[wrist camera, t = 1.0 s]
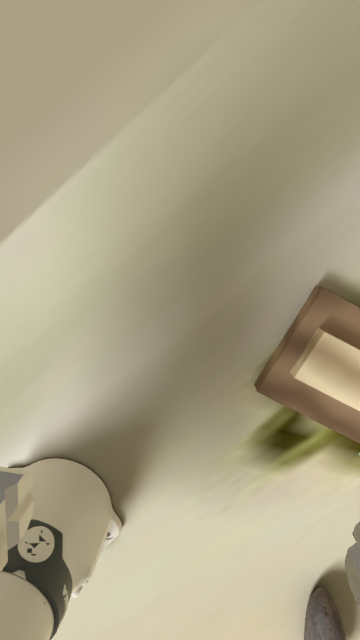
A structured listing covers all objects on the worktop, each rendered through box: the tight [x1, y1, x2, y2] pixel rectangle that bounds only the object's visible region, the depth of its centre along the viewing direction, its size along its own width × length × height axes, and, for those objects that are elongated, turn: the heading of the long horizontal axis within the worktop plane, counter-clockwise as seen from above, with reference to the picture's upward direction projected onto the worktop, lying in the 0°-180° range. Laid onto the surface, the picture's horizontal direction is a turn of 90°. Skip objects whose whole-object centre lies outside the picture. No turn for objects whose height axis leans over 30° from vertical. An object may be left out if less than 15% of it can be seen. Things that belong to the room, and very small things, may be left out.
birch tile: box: [290, 328, 360, 411], centre depth 34 cm, size 6×10×2 cm, turn 63°
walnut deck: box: [254, 286, 360, 443], centre depth 36 cm, size 14×16×2 cm
